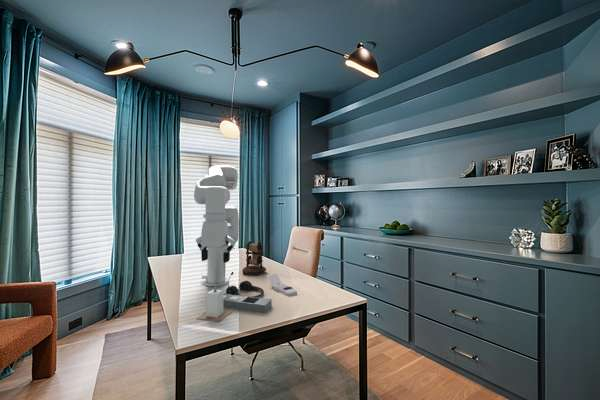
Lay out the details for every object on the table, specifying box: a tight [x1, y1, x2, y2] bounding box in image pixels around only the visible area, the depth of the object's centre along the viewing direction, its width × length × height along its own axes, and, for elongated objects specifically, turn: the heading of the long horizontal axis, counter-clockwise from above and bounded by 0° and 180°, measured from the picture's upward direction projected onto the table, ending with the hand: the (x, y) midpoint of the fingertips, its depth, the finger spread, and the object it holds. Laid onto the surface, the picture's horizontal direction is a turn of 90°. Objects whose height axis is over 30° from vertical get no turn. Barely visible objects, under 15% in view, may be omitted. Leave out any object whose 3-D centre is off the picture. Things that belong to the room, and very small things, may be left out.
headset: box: [225, 271, 265, 298], centre depth 130 cm, size 14×10×20 cm
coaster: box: [195, 309, 234, 323], centre depth 106 cm, size 10×10×1 cm
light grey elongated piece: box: [266, 273, 298, 297], centre depth 137 cm, size 6×6×25 cm
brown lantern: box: [241, 240, 267, 276], centre depth 170 cm, size 15×15×20 cm
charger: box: [205, 286, 224, 318], centre depth 106 cm, size 5×5×11 cm
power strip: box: [223, 293, 272, 314], centre depth 115 cm, size 26×7×4 cm, turn 74°
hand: (215, 261), depth 106 cm, fingers open, 9 cm apart
